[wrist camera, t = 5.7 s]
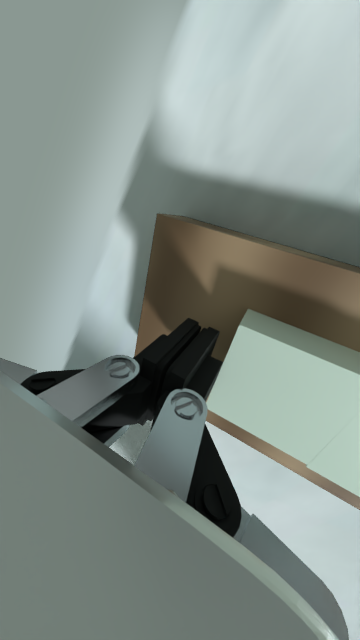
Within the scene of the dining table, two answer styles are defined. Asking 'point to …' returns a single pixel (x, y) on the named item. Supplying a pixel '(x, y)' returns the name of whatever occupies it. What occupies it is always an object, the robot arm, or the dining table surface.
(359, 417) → the tile
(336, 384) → the tile
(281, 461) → the board
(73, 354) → the dining table surface
